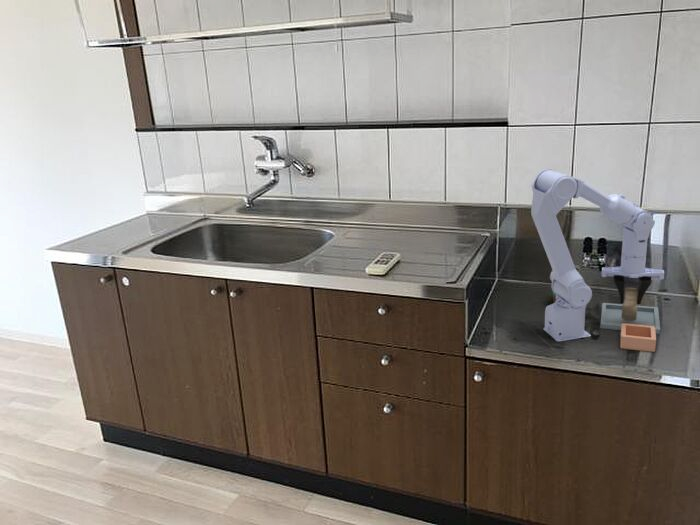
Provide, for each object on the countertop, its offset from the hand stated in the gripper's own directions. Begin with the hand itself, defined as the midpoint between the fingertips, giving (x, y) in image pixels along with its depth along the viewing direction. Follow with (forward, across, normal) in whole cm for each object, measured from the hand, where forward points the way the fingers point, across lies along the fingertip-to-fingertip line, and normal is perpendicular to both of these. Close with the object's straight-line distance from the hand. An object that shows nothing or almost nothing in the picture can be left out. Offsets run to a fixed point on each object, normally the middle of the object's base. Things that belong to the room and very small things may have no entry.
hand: (629, 302), depth 156 cm
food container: (+6, -17, +12) cm, 22 cm away
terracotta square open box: (+6, +1, -12) cm, 14 cm away
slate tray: (+6, 0, +1) cm, 6 cm away
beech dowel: (+4, 0, 0) cm, 4 cm away
